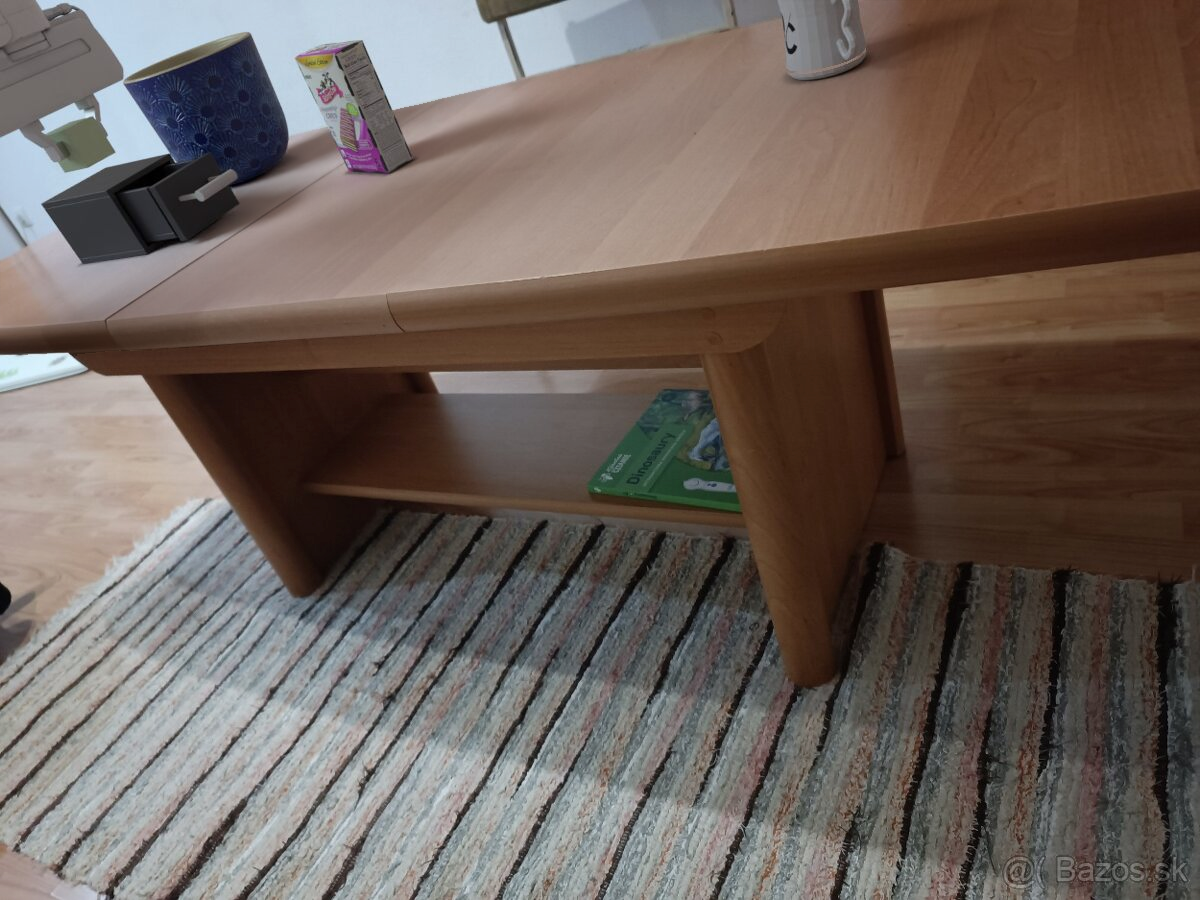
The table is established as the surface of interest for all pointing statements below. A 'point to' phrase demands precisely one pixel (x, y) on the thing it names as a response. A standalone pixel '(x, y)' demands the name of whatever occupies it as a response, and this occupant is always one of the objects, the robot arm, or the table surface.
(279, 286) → the table surface
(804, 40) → the mug
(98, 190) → the cabinet
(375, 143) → the candy bar box
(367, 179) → the table surface
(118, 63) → the robot arm
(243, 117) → the planter
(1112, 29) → the table surface
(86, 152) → the block
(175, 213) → the drawer
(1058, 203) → the table surface
